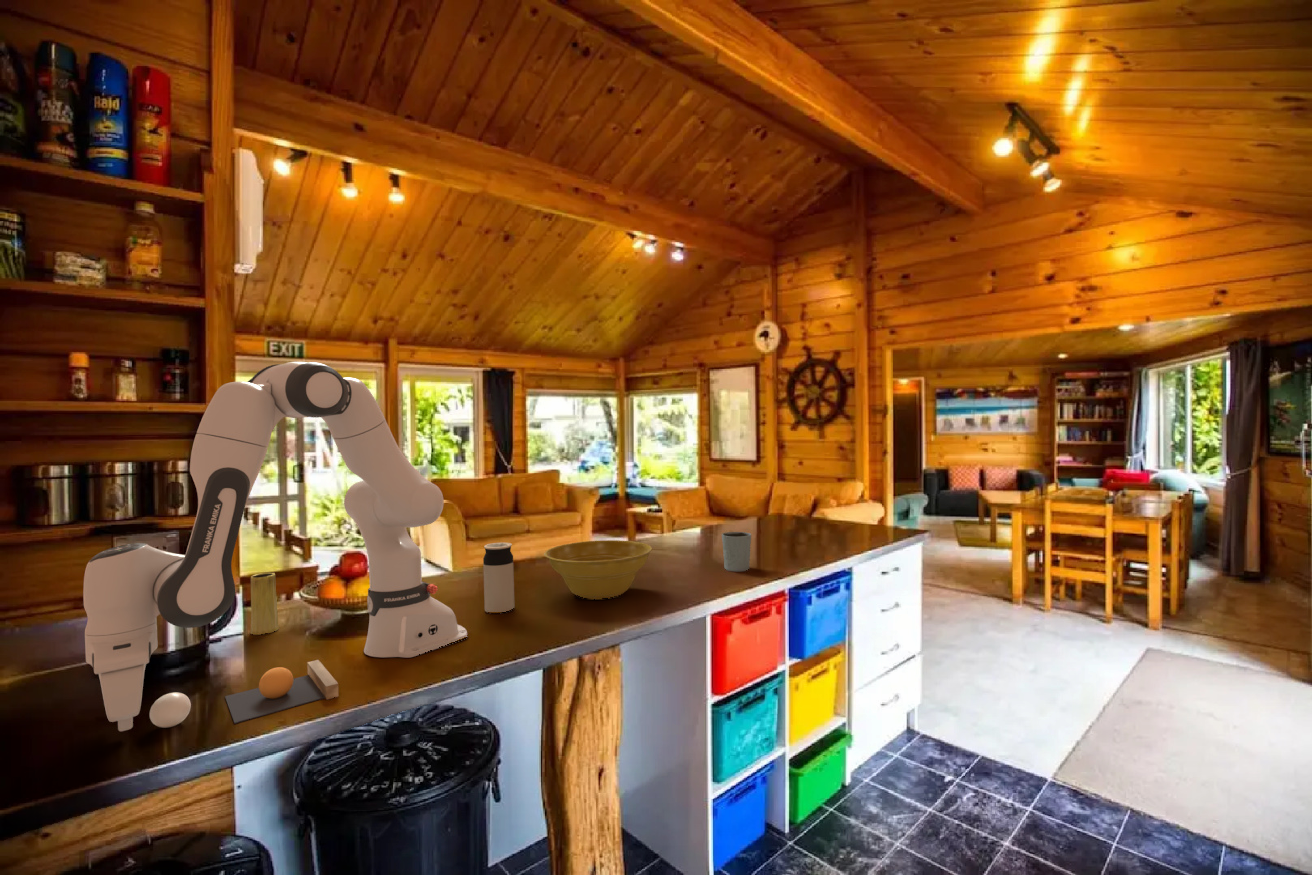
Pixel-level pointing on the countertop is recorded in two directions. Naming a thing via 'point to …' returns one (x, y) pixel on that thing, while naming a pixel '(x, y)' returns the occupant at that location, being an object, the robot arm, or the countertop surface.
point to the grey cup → (736, 551)
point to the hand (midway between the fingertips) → (125, 727)
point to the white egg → (170, 710)
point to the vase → (263, 604)
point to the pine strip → (323, 679)
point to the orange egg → (276, 682)
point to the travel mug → (498, 577)
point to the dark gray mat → (272, 700)
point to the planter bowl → (598, 566)
